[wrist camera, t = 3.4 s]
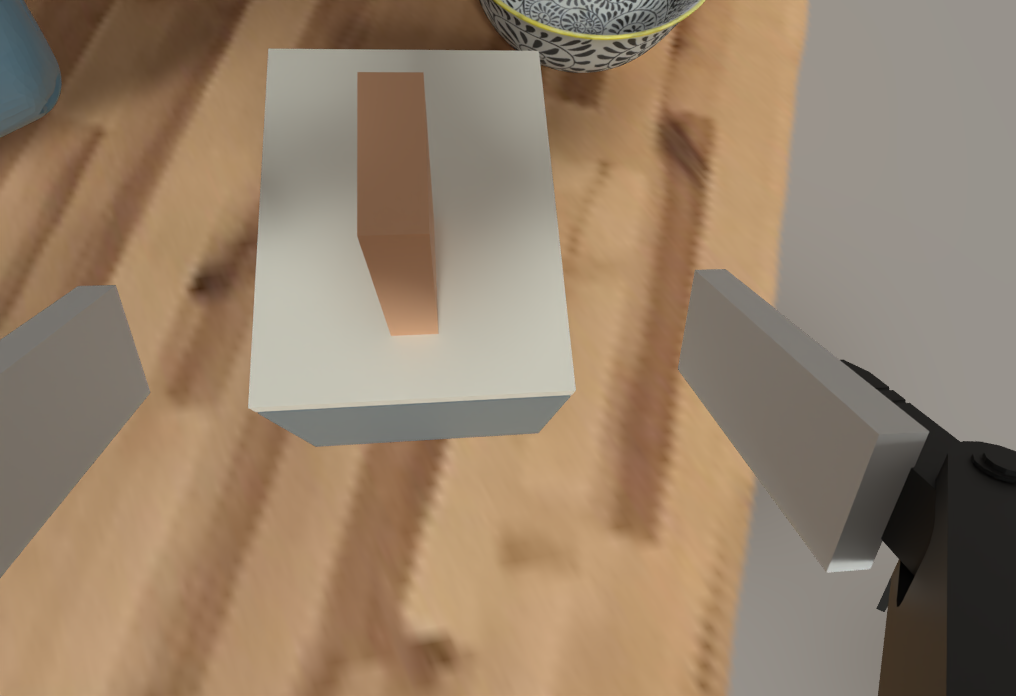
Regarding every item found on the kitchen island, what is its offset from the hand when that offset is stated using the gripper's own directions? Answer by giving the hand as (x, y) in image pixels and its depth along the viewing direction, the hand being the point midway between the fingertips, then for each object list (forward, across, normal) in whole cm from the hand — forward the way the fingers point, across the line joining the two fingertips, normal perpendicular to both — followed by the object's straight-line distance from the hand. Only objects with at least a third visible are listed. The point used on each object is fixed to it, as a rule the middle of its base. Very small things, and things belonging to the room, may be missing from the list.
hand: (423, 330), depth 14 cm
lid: (+12, -1, -1) cm, 12 cm away
